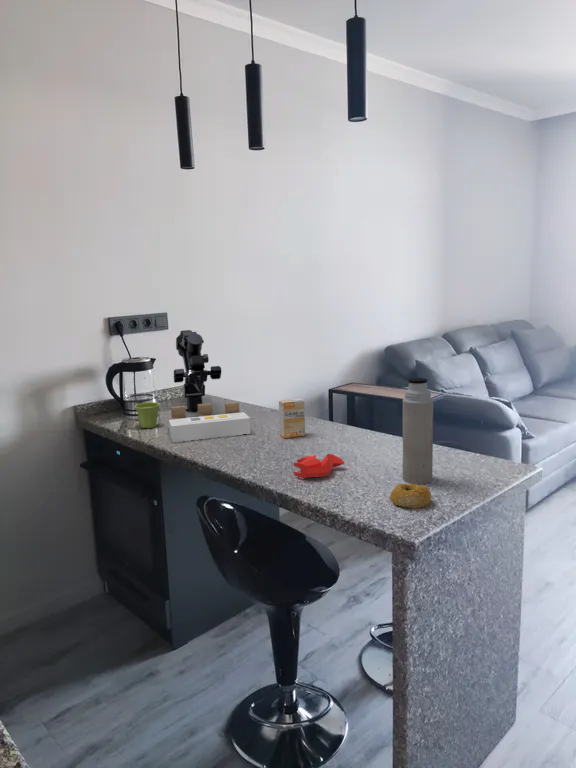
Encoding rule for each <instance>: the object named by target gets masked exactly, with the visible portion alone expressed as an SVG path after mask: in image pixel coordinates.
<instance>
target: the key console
mask: <svg viewBox="0 0 576 768" xmlns="http://www.w3.org/2000/svg"><path fill="white" fill-rule="evenodd" d="M168 425H169V426H168V428H167V431H168V433H169V437H170V440H171V442H172V444H175V442H176V443H183V441H185V442H192V441H191V440H194V441H200V440H199V439H203V440H210V439H209V438H211V439H218V437H220V438H228V437H227V436H229V437H236V436H237V435H238V436H244V435H243V434H247V435H251V434H252V433H251V417H250V416H248V414H247V413H245V411H243V412H240V413H230V414H225V413H222V414H214V415H213V414H212V415H211V416H201V417H198V416H194V417H191V416H190V417H186V418H181V419H172V418H171V419H168Z"/></svg>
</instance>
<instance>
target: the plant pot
mask: <svg viewBox="0 0 576 768" xmlns="http://www.w3.org/2000/svg"><path fill="white" fill-rule="evenodd" d="M160 405H161V404H160V403H159V402H155V401H154V402H153V401H152V402H143V403H139V404H136V405H134V408H135V411H136V413H137V415H138V420H139V423H140V427H141V428H142V429H153V428H155V427H157V425H158V413H159V407H160Z"/></svg>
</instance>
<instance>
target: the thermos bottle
mask: <svg viewBox="0 0 576 768" xmlns="http://www.w3.org/2000/svg"><path fill="white" fill-rule="evenodd" d="M407 382H408V389H407V390H405V394H404V397H403V399H402V480H403V481H404V482H405V483H408V482H409V483H408V484H418V485H424V484H423V483H425V484H428V482H429V483H431V482H432V481H433V466H434V465H433V464H434V463H433V460H434V459H433V456H434V455H433V454H434V453H433V452H434V451H433V450H434V447H433V446H434V445H433V437H434V435H433V434H434V399H433V398H432V397H431V396H432V393H431V390H430V389H428V379H427V378H424V377H410V378H408V381H407Z"/></svg>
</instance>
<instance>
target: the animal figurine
mask: <svg viewBox="0 0 576 768" xmlns="http://www.w3.org/2000/svg"><path fill="white" fill-rule="evenodd" d="M344 464H346V462H345V461H344V460H343V459H342V458H341V457H339V456H338V455H337V456H336V455H335V454H331V453H327V454H326V455H325V457H324V458H323V459H322V460H320V459H319V458H317V455H316V454H314V455H306V456H304V457H301V458H300V459H297V460H296V462H294V463H293V466H294V467H296V468H298V469H299V470H300V472H298V471H293V474H294V475H293V476H295V477H296V476H298V477H301V478H306V479H309V477H310V478H318V477H321V478H322V477H328V476H329V475H330V473H331V472H332V470H333V469H334V468H336V467H337V468H338V467H339V466H341V465H344ZM327 475H328V476H327ZM298 477H297V478H298Z"/></svg>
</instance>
